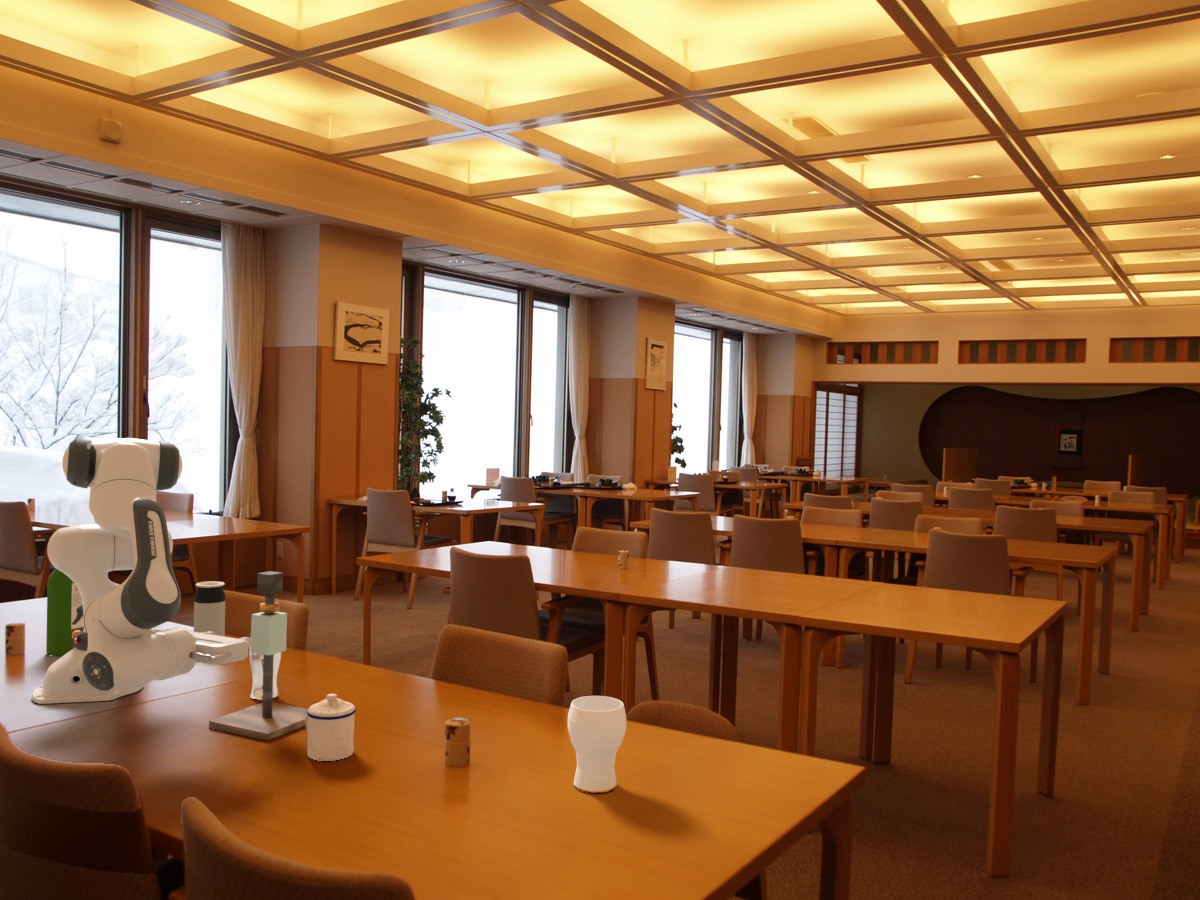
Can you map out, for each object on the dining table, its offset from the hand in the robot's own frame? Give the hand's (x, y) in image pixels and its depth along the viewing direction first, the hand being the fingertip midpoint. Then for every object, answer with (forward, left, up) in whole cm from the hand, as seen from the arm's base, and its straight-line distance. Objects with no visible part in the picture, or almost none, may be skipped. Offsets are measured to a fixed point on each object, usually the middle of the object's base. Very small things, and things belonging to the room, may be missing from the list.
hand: (230, 638), depth 184 cm
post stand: (+8, +7, -20) cm, 23 cm away
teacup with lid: (+16, -15, -20) cm, 30 cm away
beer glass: (+10, +27, -20) cm, 35 cm away
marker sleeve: (+8, +7, -5) cm, 11 cm away
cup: (+57, -50, -20) cm, 79 cm away
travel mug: (+2, +80, -20) cm, 82 cm away
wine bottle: (-33, +87, -20) cm, 95 cm away
